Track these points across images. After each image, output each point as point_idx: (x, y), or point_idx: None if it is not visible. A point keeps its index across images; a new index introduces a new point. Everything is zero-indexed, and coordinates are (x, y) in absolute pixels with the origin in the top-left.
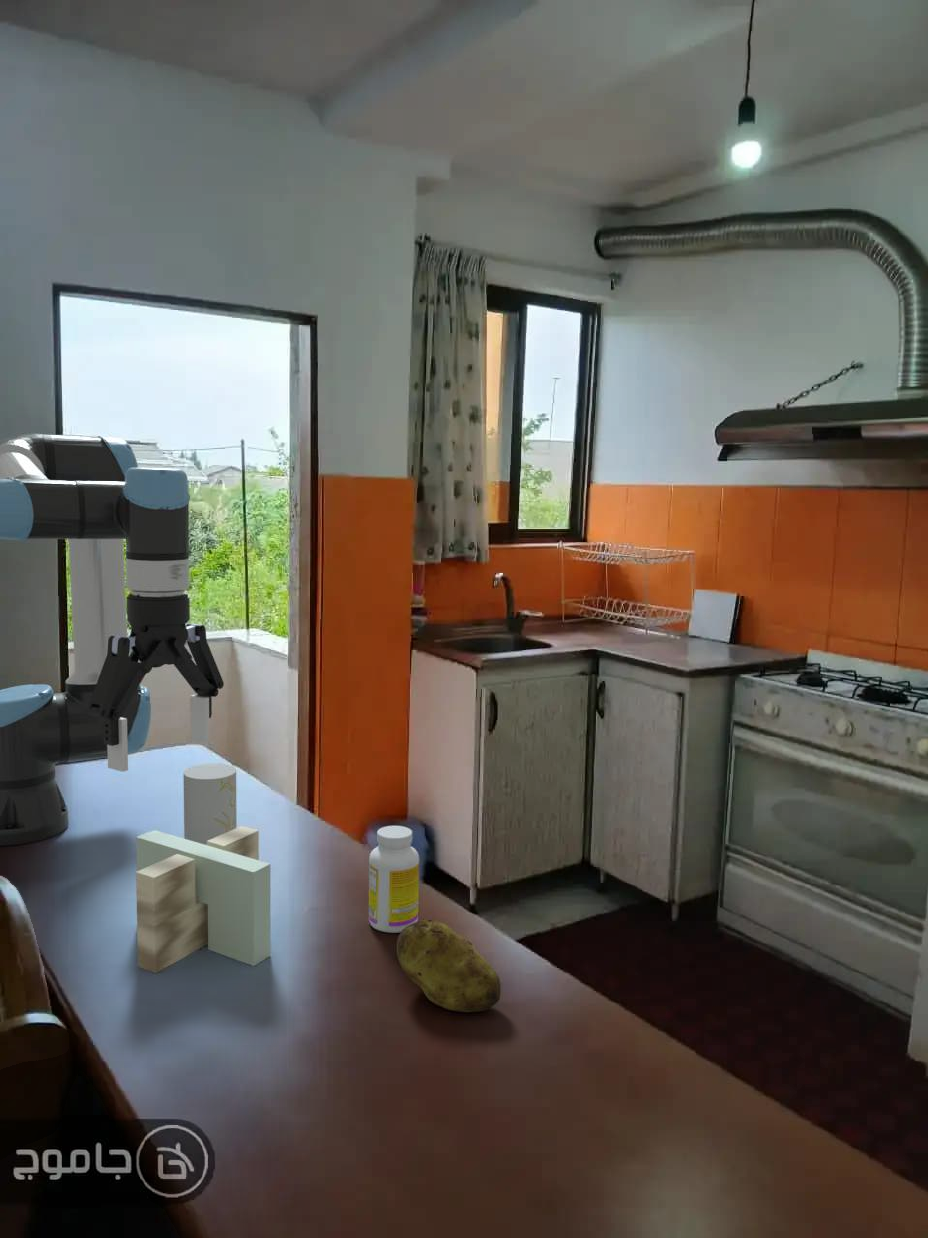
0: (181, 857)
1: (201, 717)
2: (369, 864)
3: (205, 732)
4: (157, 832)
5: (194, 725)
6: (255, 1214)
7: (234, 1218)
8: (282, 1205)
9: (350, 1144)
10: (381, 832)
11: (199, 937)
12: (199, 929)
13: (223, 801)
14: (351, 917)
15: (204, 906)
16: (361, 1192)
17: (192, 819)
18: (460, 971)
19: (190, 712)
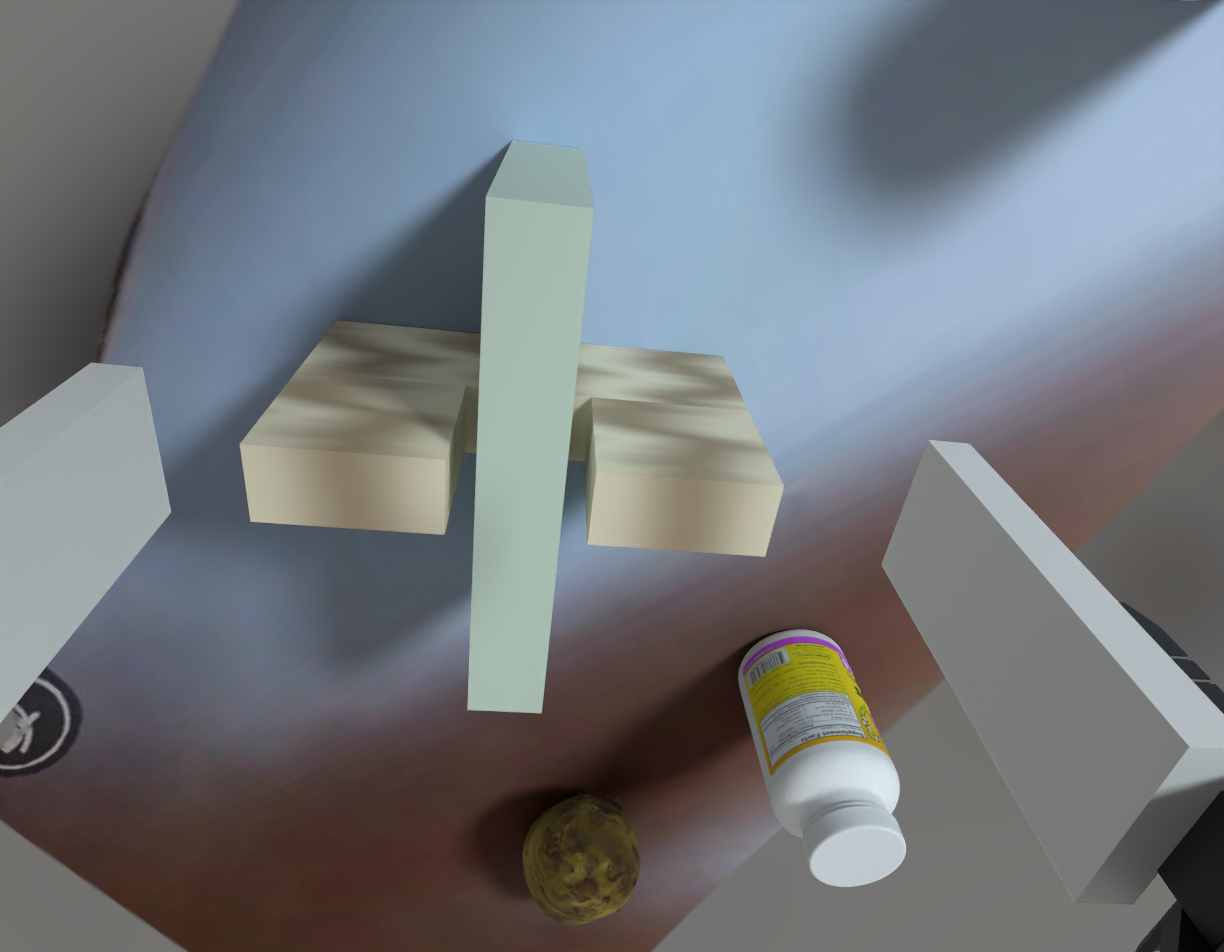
0: (429, 490)
1: (987, 692)
2: (800, 747)
3: (925, 629)
4: (575, 245)
5: (976, 565)
6: (39, 830)
7: (15, 819)
8: (72, 842)
9: (206, 850)
10: (840, 841)
11: None
12: None
13: None
14: (784, 590)
15: None
16: (154, 884)
17: None
18: (546, 906)
19: (1058, 600)
